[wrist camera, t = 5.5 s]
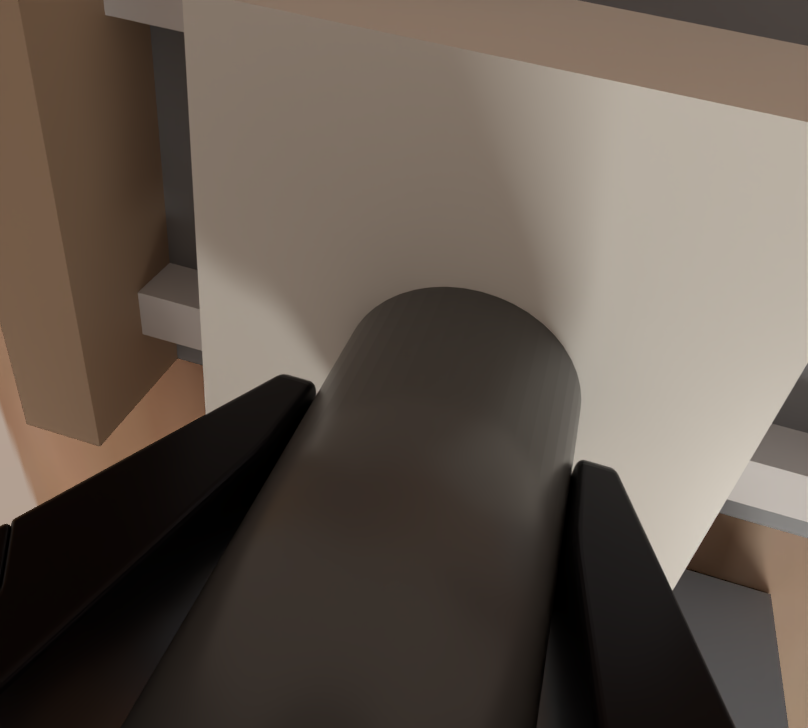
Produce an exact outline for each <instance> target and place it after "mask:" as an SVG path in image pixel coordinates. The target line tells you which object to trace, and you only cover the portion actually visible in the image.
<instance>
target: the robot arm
mask: <svg viewBox="0 0 808 728" xmlns="http://www.w3.org/2000/svg"><path fill="white" fill-rule="evenodd" d="M315 396H316V388H315V385H314V384H313V383H312V382H311V381H309V380H305V379H302V378H298V377H295V376H291V375H288V374H281V375H277V376H275V377H274V378H272V379H270V380H268V381H266V382H264V383H263V384H261V385H259V386H257V387H255V388H253V389H252V390H250V391H248V392H246V393H244V394H242V395H241V396H239V397H237V398H235V399H233V400H231V401H230V402H228V403H226V404H224V405H222V406H220V407H219V408H217V409H215V410H213V411H211V412H209V413H208V414H206V415H204V416H202V417H200V418H198V419H197V420H195V421H193V422H191V423H189V424H187V425H186V426H184V427H182V428H180V429H178V430H176V431H175V432H173V433H171V434H169V435H167V436H165V437H164V438H162V439H160V440H158V441H156V442H154V443H153V444H151V445H149V446H147V447H145V448H143V449H142V450H140V451H138V452H136V453H134V454H132V455H131V456H129V457H127V458H125V459H123V460H121V461H120V462H118V463H116V464H114V465H112V466H110V467H109V468H107V469H105V470H103V471H101V472H99V473H98V474H96V475H94V476H92V477H90V478H88V479H87V480H85V481H83V482H81V483H79V484H77V485H76V486H74V487H72V488H70V489H68V490H66V491H65V492H63V493H61V494H59V495H57V496H55V497H54V498H52V499H50V500H48V501H46V502H44V503H43V504H41V505H39V506H37V507H35V508H33V509H32V510H30V511H28V512H26V513H24V514H22V515H21V516H19V517H17V518H15V519H14V520H13V521H12V523H11V526H10V525H8V524H4V525H2V526H0V728H121V726H122V724H123V723H124V721H125V719H126V717H127V716H128V714H129V712H130V711H131V709H132V707H133V706H134V704H135V702H136V700H137V699H138V697H139V695H140V694H141V692H142V690H143V689H144V687H145V685H146V683H147V682H148V680H149V678H150V677H151V675H152V673H153V672H154V670H155V668H156V667H157V665H158V663H159V661H160V660H161V658H162V656H163V655H164V653H165V651H166V650H167V648H168V646H169V644H170V643H171V641H172V639H173V638H174V636H175V634H176V633H177V631H178V629H179V627H180V626H181V624H182V622H183V621H184V619H185V617H186V616H187V614H188V612H189V610H190V609H191V607H192V605H193V604H194V602H195V600H196V599H197V597H198V595H199V593H200V592H201V590H202V588H203V587H204V585H205V583H206V582H207V580H208V578H209V576H210V575H211V573H212V571H213V570H214V568H215V566H216V565H217V563H218V561H219V559H220V558H221V556H222V554H223V553H224V551H225V549H226V548H227V546H228V544H229V543H230V541H231V539H232V537H233V536H234V534H235V532H236V531H237V529H238V527H239V526H240V524H241V522H242V520H243V519H244V517H245V515H246V514H247V512H248V510H249V509H250V507H251V505H252V503H253V502H254V500H255V498H256V497H257V495H258V493H259V492H260V490H261V488H262V486H263V485H264V483H265V481H266V480H267V478H268V476H269V475H270V473H271V471H272V469H273V468H274V466H275V464H276V463H277V461H278V459H279V458H280V456H281V454H282V452H283V451H284V449H285V447H286V446H287V444H288V442H289V441H290V439H291V437H292V436H293V434H294V432H295V430H296V429H297V427H298V425H299V424H300V422H301V420H302V419H303V417H304V415H305V413H306V412H307V410H308V408H309V407H310V405H311V403H312V402H313V400H314V398H315ZM536 728H736V727H735V725H734V722H733V720H732V718H731V716H730V714H729V712H728V709H727V707H726V705H725V703H724V701H723V699H722V697H721V694H720V692H719V690H718V688H717V686H716V684H715V681H714V679H713V677H712V675H711V673H710V671H709V669H708V666H707V664H706V662H705V660H704V658H703V656H702V653H701V651H700V649H699V647H698V645H697V643H696V641H695V638H694V636H693V634H692V632H691V630H690V628H689V625H688V623H687V621H686V619H685V617H684V615H683V613H682V610H681V608H680V606H679V604H678V602H677V600H676V597H675V595H674V593H673V591H672V589H671V587H670V585H669V582H668V580H667V578H666V576H665V574H664V572H663V570H662V567H661V565H660V563H659V561H658V559H657V557H656V554H655V552H654V550H653V548H652V546H651V544H650V542H649V539H648V537H647V535H646V533H645V531H644V529H643V526H642V524H641V522H640V520H639V518H638V516H637V514H636V511H635V509H634V507H633V505H632V503H631V501H630V498H629V496H628V494H627V492H626V490H625V488H624V486H623V483H622V481H621V479H620V477H619V475H618V473H617V472H616V471H615V470H614V469H613V468H611V467H608V466H604V465H601V464H597V463H594V462H591V461H587V460H580V461H579V462H577V463H576V465H575V467H574V470H573V472H572V475H571V482H570V489H569V496H568V504H567V511H566V518H565V525H564V532H563V539H562V547H561V554H560V561H559V569H558V576H557V583H556V590H555V597H554V605H553V612H552V619H551V626H550V634H549V641H548V648H547V655H546V662H545V670H544V677H543V684H542V691H541V698H540V706H539V713H538V720H537V727H536Z"/></svg>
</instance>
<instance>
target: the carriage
mask: <svg viewBox="0 0 808 728" xmlns="http://www.w3.org/2000/svg"><path fill="white" fill-rule="evenodd" d="M182 4H183V22H184V39H185V57H186V75H187V93H188V110H189V128H190V146H191V163H192V181H193V199H194V216H195V234H196V252H197V269H198V287H199V305H200V322H201V340H202V358H203V375H204V393H205V411H206V414H208V413H209V412H211V411H213V410H215V409H217V408H219V407H220V406H222V405H224V404H226V403H228V402H230V401H231V400H233V399H235V398H237V397H239V396H241V395H242V394H244V393H246V392H248V391H250V390H252V389H253V388H255V387H257V386H259V385H261V384H263V383H264V382H266V381H268V380H270V379H272V378H274V377H275V376H277V375H281V374H288V375H291V376H295V377H298V378H302V379H305V380H309V381H311V382H312V383H313V384H314V385H315V388H316V396H315V398H314V400H313V402H312V403H311V405H310V407H309V408H308V410H307V412H306V413H305V415H304V417H303V419H302V420H301V422H300V424H299V425H298V427H297V429H296V430H295V432H294V434H293V436H292V437H291V439H290V441H289V442H288V444H287V446H286V447H285V449H284V451H283V452H282V454H281V456H280V458H279V459H278V461H277V463H276V464H275V466H274V468H273V469H272V471H271V473H270V475H269V476H268V478H267V480H266V481H265V483H264V485H263V486H262V488H261V490H260V492H259V493H258V495H257V497H256V498H255V500H254V502H253V503H252V505H251V507H250V509H249V510H248V512H247V514H246V515H245V517H244V519H243V520H242V522H241V524H240V526H239V527H238V529H237V531H236V532H235V534H234V536H233V537H232V539H231V541H230V543H229V544H228V546H227V548H226V549H225V551H224V553H223V554H222V556H221V558H220V559H219V561H218V563H217V565H216V566H215V568H214V570H213V571H212V573H211V575H210V576H209V578H208V580H207V582H206V583H205V585H204V587H203V588H202V590H201V592H200V593H199V595H198V597H197V599H196V600H195V602H194V604H193V605H192V607H191V609H190V610H189V612H188V614H187V616H186V617H185V619H184V621H183V622H182V624H181V626H180V627H179V629H178V631H177V633H176V634H175V636H174V638H173V639H172V641H171V643H170V644H169V646H168V648H167V650H166V651H165V653H164V655H163V656H162V658H161V660H160V661H159V663H158V665H157V667H156V668H155V670H154V672H153V673H152V675H151V677H150V678H149V680H148V682H147V683H146V685H145V687H144V689H143V690H142V692H141V694H140V695H139V697H138V699H137V700H136V702H135V704H134V706H133V707H132V709H131V711H130V712H129V714H128V716H127V717H126V719H125V721H124V723H123V724H122V726H121V728H536V727H537V720H538V713H539V706H540V698H541V691H542V684H543V677H544V670H545V662H546V655H547V648H548V641H549V634H550V626H551V619H552V612H553V605H554V597H555V590H556V583H557V576H558V569H559V561H560V554H561V547H562V539H563V532H564V525H565V518H566V511H567V504H568V496H569V489H570V482H571V475H572V472H573V470H574V467H575V465H576V463H577V462H579V461H580V460H587V461H591V462H594V463H597V464H601V465H604V466H608V467H611V468H613V469H614V470H615V471H616V472H617V473H618V475H619V477H620V479H621V481H622V483H623V486H624V488H625V490H626V492H627V494H628V496H629V498H630V501H631V503H632V505H633V507H634V509H635V511H636V514H637V516H638V518H639V520H640V522H641V524H642V526H643V529H644V531H645V533H646V535H647V537H648V539H649V542H650V544H651V546H652V548H653V550H654V552H655V554H656V557H657V559H658V561H659V563H660V565H661V567H662V570H663V572H664V574H665V576H666V578H667V580H668V582H669V585H670V587H671V589H672V591H673V589H674V588H675V586H676V584H677V582H678V581H679V579H680V577H681V576H682V574H683V572H684V571H685V569H686V567H687V566H688V564H689V562H690V561H691V559H692V557H693V555H694V554H695V552H696V550H697V549H698V547H699V545H700V544H701V542H702V540H703V539H704V537H705V535H706V534H707V532H708V530H709V528H710V527H711V525H712V523H713V522H714V520H715V518H716V517H717V515H718V513H719V512H720V510H721V508H722V507H723V505H724V503H725V501H726V500H727V498H728V496H729V495H730V493H731V491H732V490H733V488H734V486H735V485H736V483H737V481H738V480H739V478H740V476H741V475H742V473H743V471H744V469H745V468H746V466H747V464H748V463H749V461H750V459H751V458H752V456H753V454H754V453H755V451H756V449H757V448H758V446H759V444H760V442H761V441H762V439H763V437H764V436H765V434H766V432H767V431H768V429H769V427H770V426H771V424H772V422H773V421H774V419H775V417H776V415H777V414H778V412H779V410H780V409H781V407H782V405H783V404H784V402H785V400H786V399H787V397H788V395H789V394H790V392H791V390H792V389H793V387H794V385H795V383H796V382H797V380H798V378H799V377H800V375H801V373H802V372H803V370H804V368H805V367H806V365H807V363H808V46H806V45H801V44H796V43H791V42H785V41H780V40H775V39H770V38H765V37H760V36H755V35H750V34H745V33H740V32H735V31H730V30H725V29H720V28H715V27H710V26H705V25H700V24H695V23H690V22H685V21H680V20H675V19H670V18H665V17H660V16H655V15H650V14H645V13H639V12H634V11H629V10H624V9H619V8H614V7H609V6H604V5H599V4H594V3H589V2H584V1H579V0H182Z"/></svg>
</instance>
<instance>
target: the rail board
mask: <svg viewBox="0 0 808 728" xmlns="http://www.w3.org/2000/svg"><path fill="white" fill-rule="evenodd" d="M579 1H584V2H589V3H594V4H599V5H604V6H609V7H614V8H619V9H624V10H629V11H634V12H639V13H645V14H650V15H655V16H660V17H665V18H670V19H675V20H680V21H685V22H690V23H695V24H700V25H705V26H710V27H715V28H720V29H725V30H730V31H735V32H740V33H745V34H750V35H755V36H760V37H765V38H770V39H775V40H780V41H785V42H791V43H796V44H801V45H806V46H808V0H579ZM0 324H1V328H2V332H3V336H4V339H5V343H6V347H7V351H8V355H9V358H10V362H11V366H12V370H13V374H14V377H15V381H16V385H17V389H18V393H19V396H20V400H21V404H22V408H23V412H24V415H25V419H26V423H27V424H28V425H32V426H35V427H38V428H41V429H45V430H48V431H51V432H54V433H57V434H61V435H64V436H67V437H70V438H74V439H77V440H80V441H83V442H87V443H90V444H93V445H96V446H101V445H102V444H103V443H104V441H105V440H106V439H107V438H108V437H109V436H110V435H111V433H112V432H113V431H114V430H115V429H116V428H117V427H118V425H119V424H120V423H121V422H122V421H123V420H124V419H125V417H126V416H127V415H128V414H129V413H130V412H131V411H132V409H133V408H134V407H135V406H136V405H137V404H138V403H139V402H140V400H141V399H142V398H143V397H144V396H145V395H146V394H147V392H148V391H149V390H150V389H151V388H152V387H153V386H154V384H155V383H156V382H157V381H158V380H159V379H160V378H161V376H162V375H163V374H164V373H165V372H166V371H167V370H168V368H169V367H170V366H171V365H172V364H173V363H174V362H175V361H176V359H177V358H179V359H182V360H186V361H189V362H193V363H196V364H200V365H203V358H202V340H201V322H200V305H199V287H198V269H197V252H196V234H195V216H194V199H193V181H192V163H191V146H190V128H189V110H188V93H187V75H186V57H185V39H184V22H183V4H182V0H0ZM719 513H721V514H725V515H728V516H732V517H735V518H739V519H742V520H746V521H749V522H753V523H756V524H760V525H763V526H767V527H770V528H774V529H777V530H781V531H784V532H788V533H791V534H795V535H798V536H802V537H805V538H808V363H807V365H806V367H805V368H804V370H803V372H802V373H801V375H800V377H799V378H798V380H797V382H796V383H795V385H794V387H793V389H792V390H791V392H790V394H789V395H788V397H787V399H786V400H785V402H784V404H783V405H782V407H781V409H780V410H779V412H778V414H777V415H776V417H775V419H774V421H773V422H772V424H771V426H770V427H769V429H768V431H767V432H766V434H765V436H764V437H763V439H762V441H761V442H760V444H759V446H758V448H757V449H756V451H755V453H754V454H753V456H752V458H751V459H750V461H749V463H748V464H747V466H746V468H745V469H744V471H743V473H742V475H741V476H740V478H739V480H738V481H737V483H736V485H735V486H734V488H733V490H732V491H731V493H730V495H729V496H728V498H727V500H726V501H725V503H724V505H723V507H722V508H721V510H720V512H719Z"/></svg>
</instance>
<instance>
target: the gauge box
mask: <svg viewBox="0 0 808 728" xmlns="http://www.w3.org/2000/svg"><path fill="white" fill-rule="evenodd" d="M673 593H674V595H675V597H676V600H677V602H678V604H679V606H680V608H681V610H682V613H683V615H684V617H685V619H686V621H687V623H688V625H689V628H690V630H691V632H692V634H693V636H694V638H695V641H696V643H697V645H698V647H699V649H700V651H701V653H702V656H703V658H704V660H705V662H706V664H707V666H708V669H709V671H710V673H711V675H712V677H713V679H714V681H715V684H716V686H717V688H718V690H719V692H720V694H721V697H722V699H723V701H724V703H725V705H726V707H727V709H728V712H729V714H730V716H731V718H732V720H733V722H734V725H735V727H736V728H788V720H787V713H786V706H785V698H784V691H783V683H782V676H781V668H780V661H779V653H778V646H777V638H776V631H775V623H774V616H773V608H772V601H771V594H767V593H764V592H761V591H757V590H754V589H751V588H747V587H744V586H741V585H737V584H734V583H730V582H727V581H724V580H720V579H717V578H714V577H710V576H707V575H704V574H700V573H697V572H693V571H690V570H687V569H685V571H684V572H683V574H682V576H681V577H680V579H679V581H678V582H677V584H676V586H675V588H674V589H673Z"/></svg>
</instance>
